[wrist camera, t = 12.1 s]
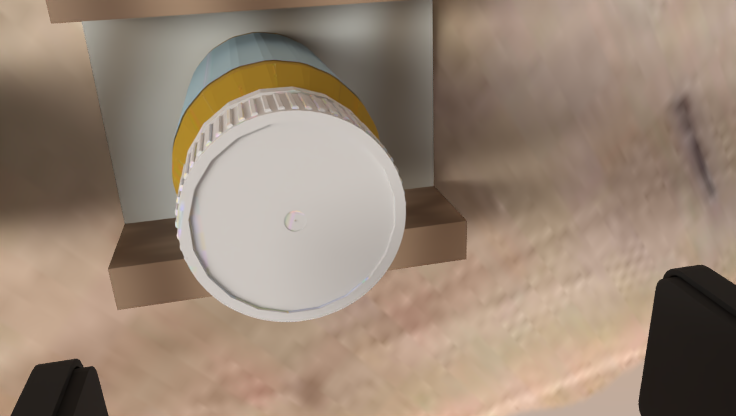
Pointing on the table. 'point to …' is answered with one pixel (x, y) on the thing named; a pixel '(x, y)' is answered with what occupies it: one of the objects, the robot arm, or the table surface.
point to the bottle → (282, 183)
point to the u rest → (169, 88)
